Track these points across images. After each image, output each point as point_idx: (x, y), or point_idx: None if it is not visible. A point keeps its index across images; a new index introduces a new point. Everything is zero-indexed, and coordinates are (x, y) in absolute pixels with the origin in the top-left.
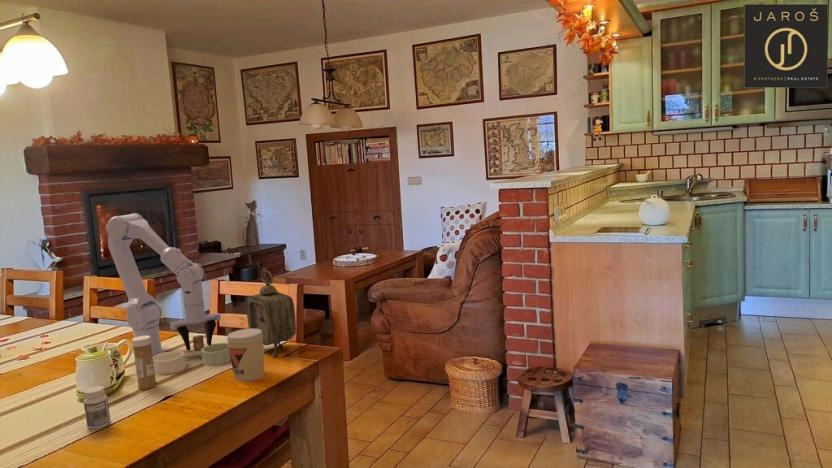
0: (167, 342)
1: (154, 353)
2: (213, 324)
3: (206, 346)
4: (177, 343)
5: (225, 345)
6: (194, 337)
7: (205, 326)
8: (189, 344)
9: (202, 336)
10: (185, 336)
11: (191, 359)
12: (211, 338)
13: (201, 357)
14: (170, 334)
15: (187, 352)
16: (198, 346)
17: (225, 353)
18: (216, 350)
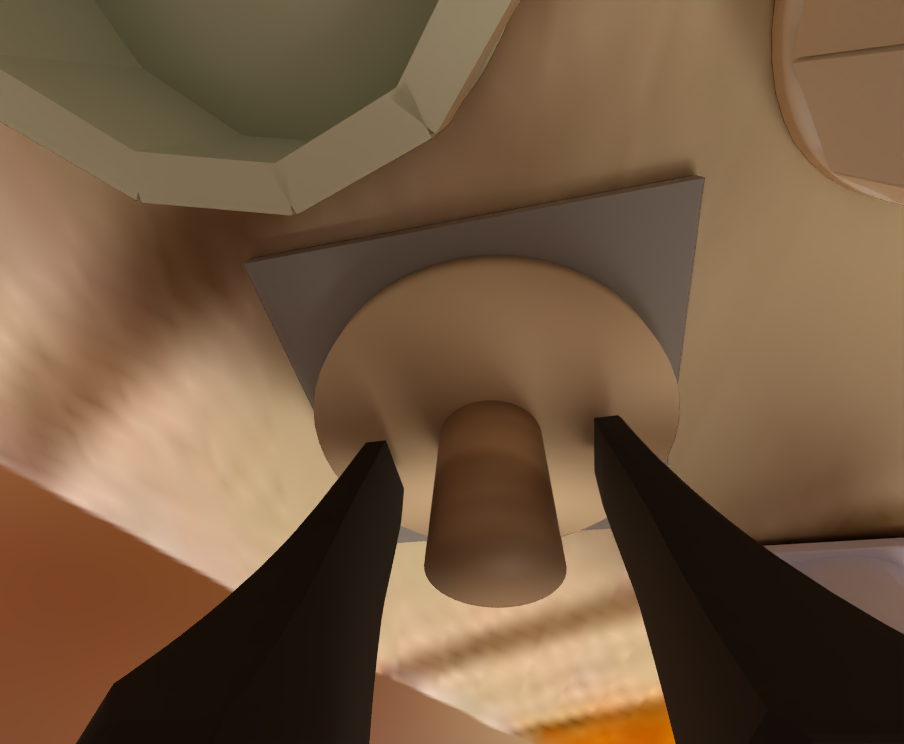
0: (614, 684)
1: (818, 566)
2: (120, 727)
3: (403, 135)
4: (574, 654)
5: (32, 66)
6: (543, 562)
7: (354, 730)
8: (625, 457)
9: (432, 545)
10: (755, 569)
11: (626, 218)
12: (327, 496)
13: (501, 223)
14: (564, 740)
15: (621, 409)
16: (502, 433)
17: None
18: (271, 147)
